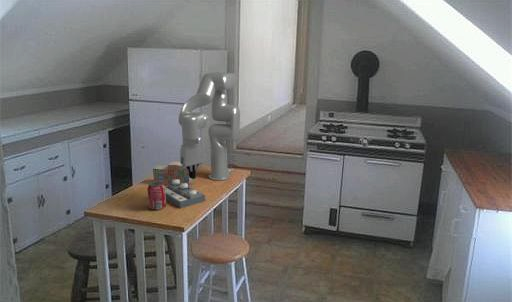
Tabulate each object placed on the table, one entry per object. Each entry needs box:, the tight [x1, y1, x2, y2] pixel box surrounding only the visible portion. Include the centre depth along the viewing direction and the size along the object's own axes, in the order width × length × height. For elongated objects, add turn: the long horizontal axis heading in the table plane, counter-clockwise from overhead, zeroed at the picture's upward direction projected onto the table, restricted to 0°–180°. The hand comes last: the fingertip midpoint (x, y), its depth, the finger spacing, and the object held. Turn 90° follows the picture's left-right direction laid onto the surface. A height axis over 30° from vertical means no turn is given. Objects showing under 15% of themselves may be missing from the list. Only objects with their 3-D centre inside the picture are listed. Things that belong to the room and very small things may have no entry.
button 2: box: [188, 189, 198, 195], centre depth 193 cm, size 4×4×2 cm
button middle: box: [180, 183, 188, 189], centre depth 199 cm, size 4×4×2 cm
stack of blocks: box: [152, 161, 194, 188], centre depth 218 cm, size 21×6×12 cm, turn 76°
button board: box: [165, 183, 206, 209], centre depth 198 cm, size 14×23×5 cm, turn 41°
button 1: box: [172, 179, 180, 185], centre depth 204 cm, size 4×4×2 cm
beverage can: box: [147, 180, 167, 211], centre depth 185 cm, size 8×8×12 cm
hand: (192, 177), depth 192 cm, fingers closed
